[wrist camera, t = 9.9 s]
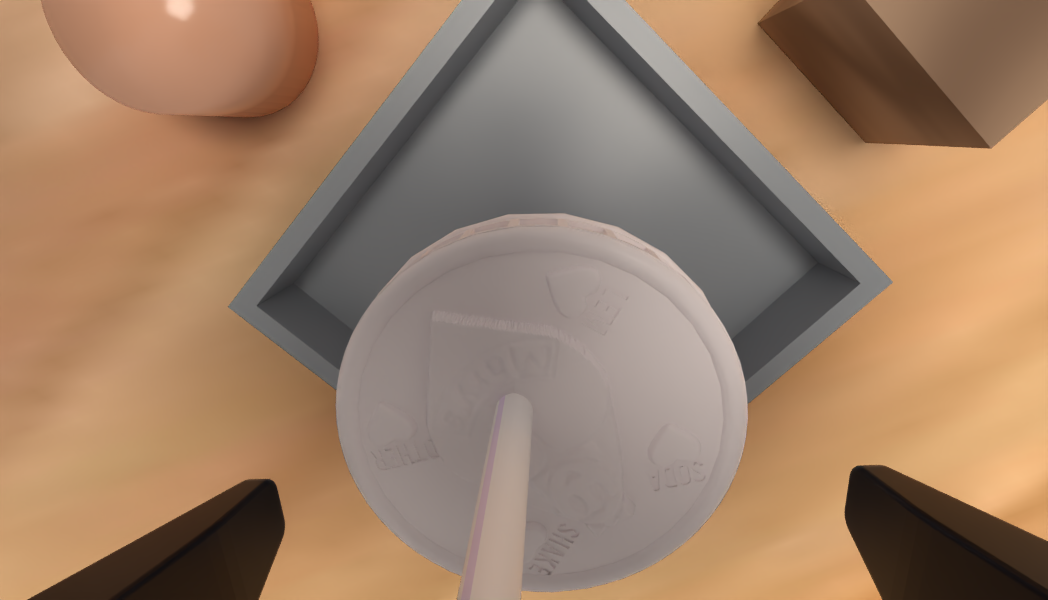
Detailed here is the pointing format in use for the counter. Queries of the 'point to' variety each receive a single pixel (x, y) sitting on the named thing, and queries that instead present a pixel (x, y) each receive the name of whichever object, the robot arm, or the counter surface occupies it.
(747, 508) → the counter surface
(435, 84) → the tray
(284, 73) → the brown short cylinder
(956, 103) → the walnut block
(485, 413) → the smoothie
